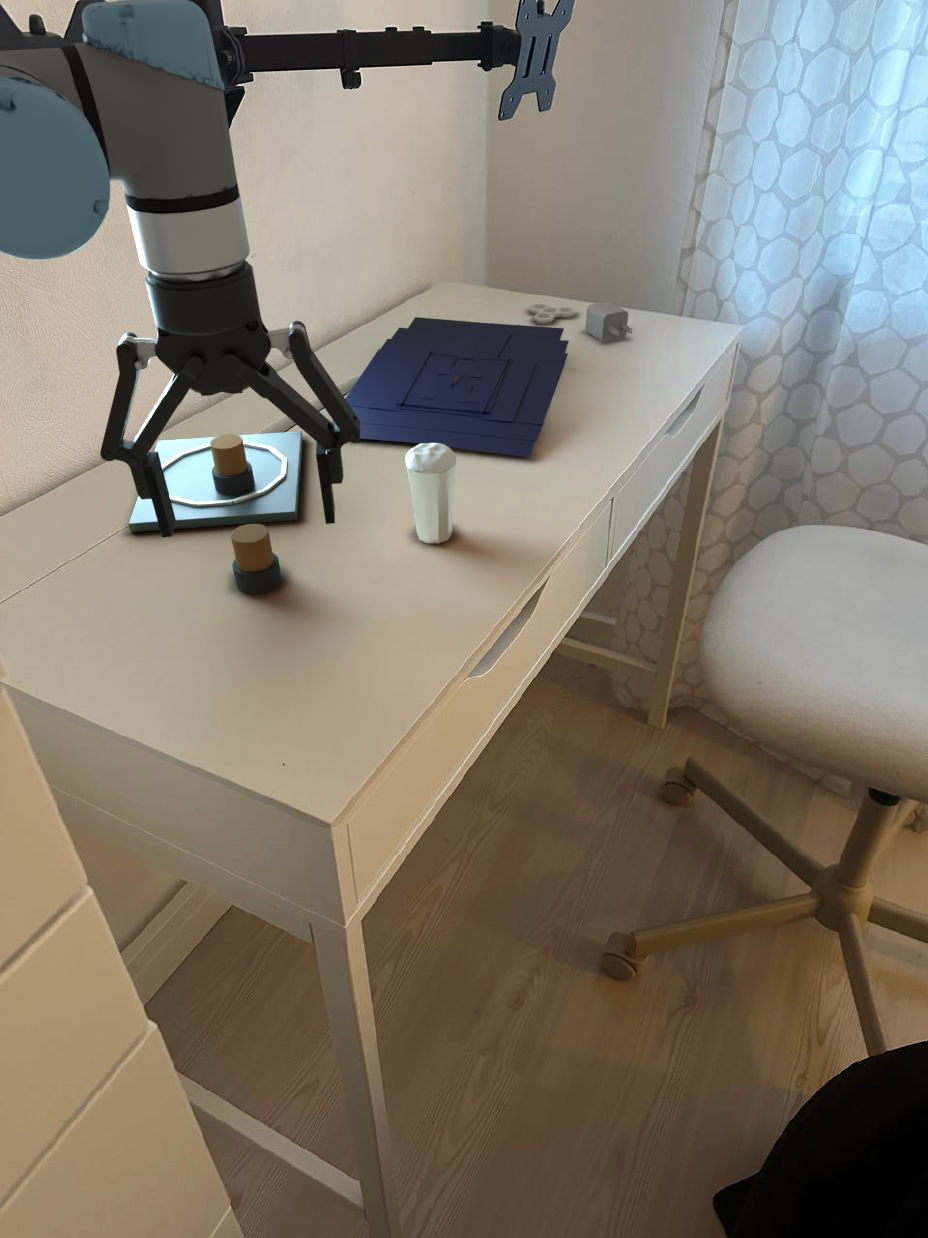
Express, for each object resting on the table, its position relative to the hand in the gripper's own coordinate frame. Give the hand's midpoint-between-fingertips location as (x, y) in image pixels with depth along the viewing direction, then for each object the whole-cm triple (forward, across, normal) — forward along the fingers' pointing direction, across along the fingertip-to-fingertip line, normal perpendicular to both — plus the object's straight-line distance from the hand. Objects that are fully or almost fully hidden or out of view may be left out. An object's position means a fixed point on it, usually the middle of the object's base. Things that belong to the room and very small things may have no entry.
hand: (250, 522), depth 76 cm
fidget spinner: (+7, -38, -63) cm, 74 cm away
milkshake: (+6, -16, -5) cm, 18 cm away
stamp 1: (+5, +4, -16) cm, 17 cm away
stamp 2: (+6, 0, 0) cm, 6 cm away
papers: (+7, -22, -37) cm, 43 cm away
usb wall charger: (+7, -45, -53) cm, 70 cm away
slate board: (+6, +5, -19) cm, 21 cm away
